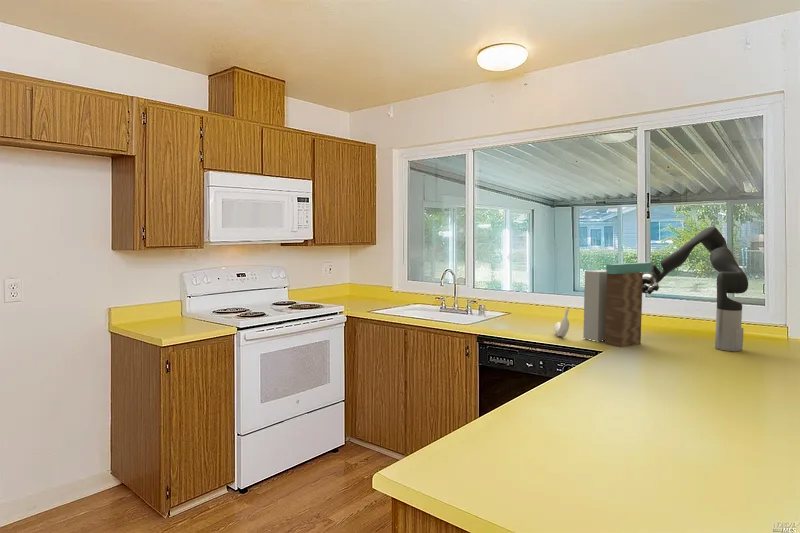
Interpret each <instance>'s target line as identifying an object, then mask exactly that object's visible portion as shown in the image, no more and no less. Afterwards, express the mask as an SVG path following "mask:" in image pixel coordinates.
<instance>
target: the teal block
mask: <svg viewBox="0 0 800 533" xmlns="http://www.w3.org/2000/svg"><path fill="white" fill-rule="evenodd" d="M651 264H652V262H625V263H624V262H623V263H607V264H606V269H605V270H606V273H607V274H622V273H637V272H640V273H642V272H651Z"/></svg>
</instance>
